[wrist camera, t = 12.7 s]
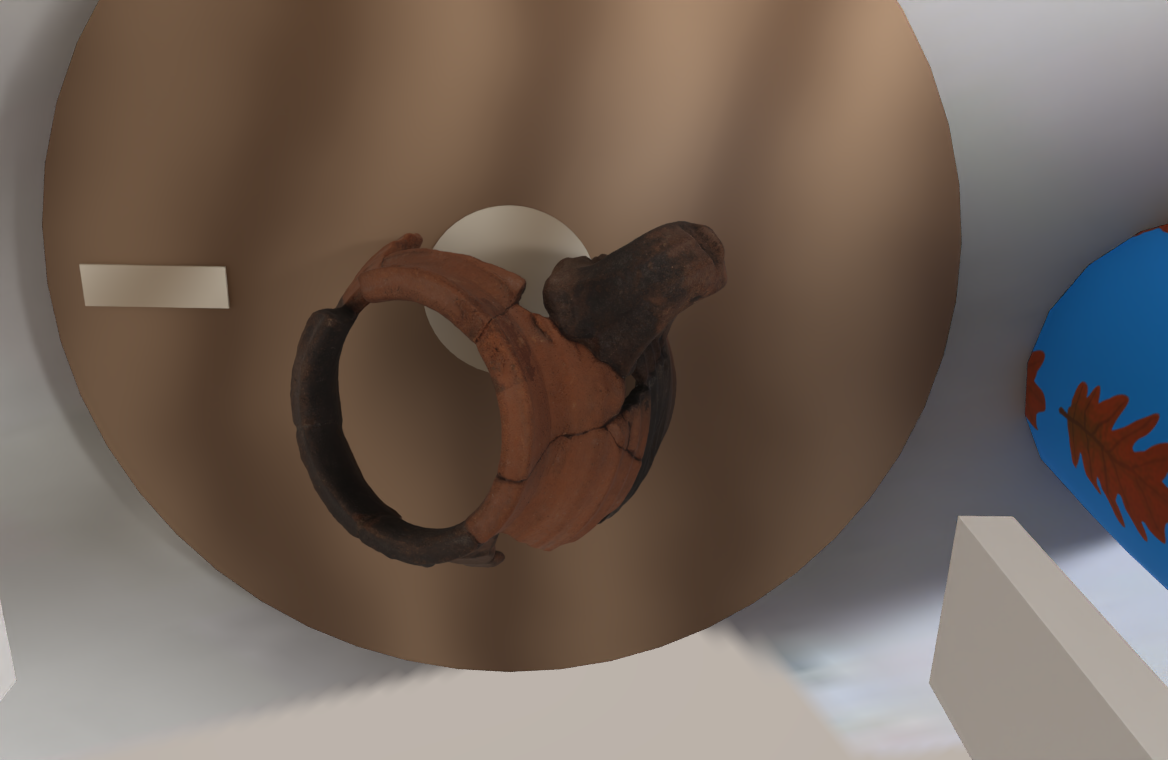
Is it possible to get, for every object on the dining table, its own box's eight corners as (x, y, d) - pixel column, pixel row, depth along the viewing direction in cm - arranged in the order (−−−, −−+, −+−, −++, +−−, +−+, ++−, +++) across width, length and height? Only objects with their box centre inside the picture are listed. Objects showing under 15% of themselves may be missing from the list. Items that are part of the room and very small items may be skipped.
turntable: (1019, -199, 26) (1039, -208, 25) (886, 654, 35) (897, 674, 34) (-16, -240, 25) (-41, -250, 24) (121, 652, 34) (108, 672, 33)
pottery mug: (560, 562, 33) (402, 670, 25) (395, 332, 34) (201, 373, 27) (854, 334, 27) (757, 391, 20) (640, 70, 28) (477, 35, 21)
